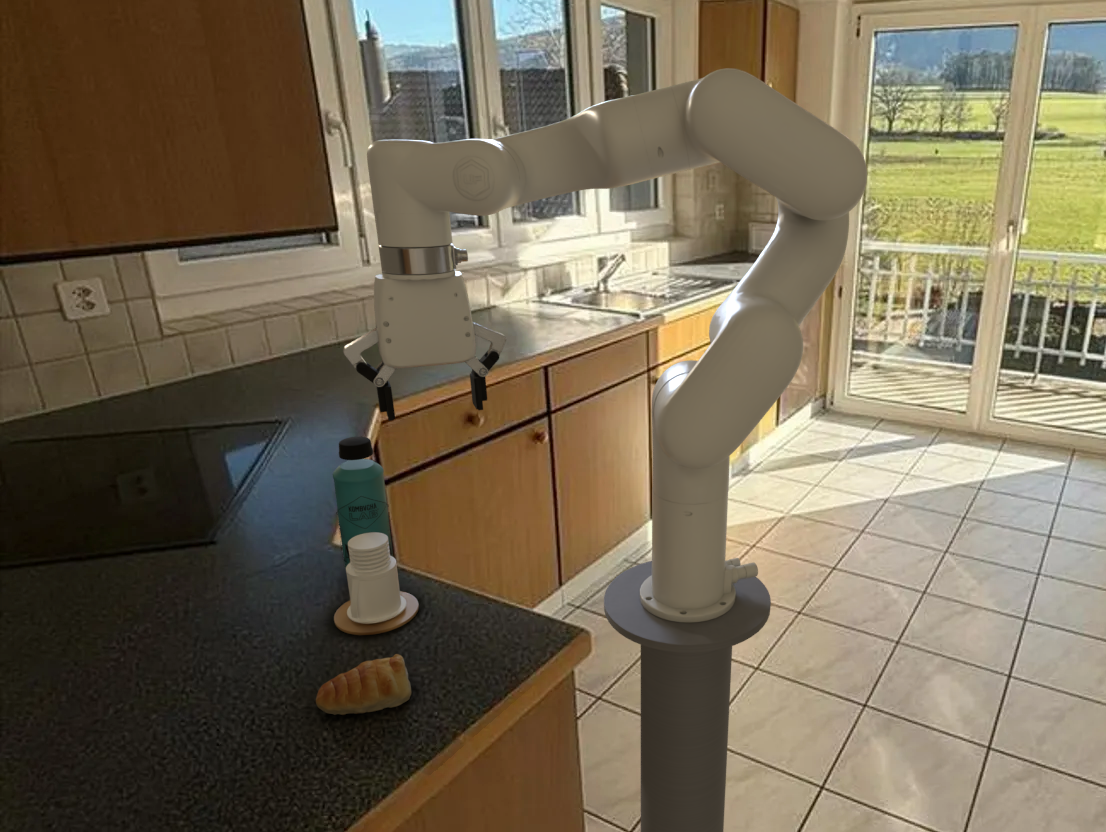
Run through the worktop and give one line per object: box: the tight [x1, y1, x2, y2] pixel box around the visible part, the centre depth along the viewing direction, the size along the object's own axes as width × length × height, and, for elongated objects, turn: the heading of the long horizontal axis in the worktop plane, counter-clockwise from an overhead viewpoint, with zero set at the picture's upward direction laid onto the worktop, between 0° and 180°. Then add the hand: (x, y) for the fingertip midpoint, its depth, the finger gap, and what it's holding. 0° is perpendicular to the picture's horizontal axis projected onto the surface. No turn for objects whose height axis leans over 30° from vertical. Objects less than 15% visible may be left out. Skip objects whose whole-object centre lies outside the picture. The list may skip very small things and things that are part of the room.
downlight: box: [345, 532, 406, 624], centre depth 99 cm, size 8×7×10 cm
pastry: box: [315, 653, 412, 716], centre depth 85 cm, size 9×7×4 cm
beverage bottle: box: [332, 436, 394, 568], centre depth 107 cm, size 6×7×20 cm
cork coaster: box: [333, 590, 420, 636], centre depth 101 cm, size 10×10×1 cm
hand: (435, 412), depth 91 cm, fingers open, 9 cm apart
